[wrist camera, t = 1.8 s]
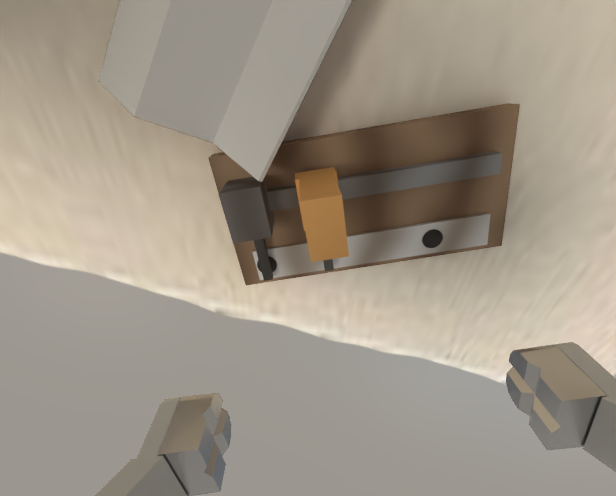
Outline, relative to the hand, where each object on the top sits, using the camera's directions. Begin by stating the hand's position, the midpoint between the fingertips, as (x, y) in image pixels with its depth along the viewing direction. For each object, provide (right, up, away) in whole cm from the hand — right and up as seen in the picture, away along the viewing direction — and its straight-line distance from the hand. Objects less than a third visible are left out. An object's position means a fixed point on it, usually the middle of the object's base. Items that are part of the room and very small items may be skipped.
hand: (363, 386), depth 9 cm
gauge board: (+3, +8, +19) cm, 21 cm away
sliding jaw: (0, +6, +18) cm, 19 cm away
